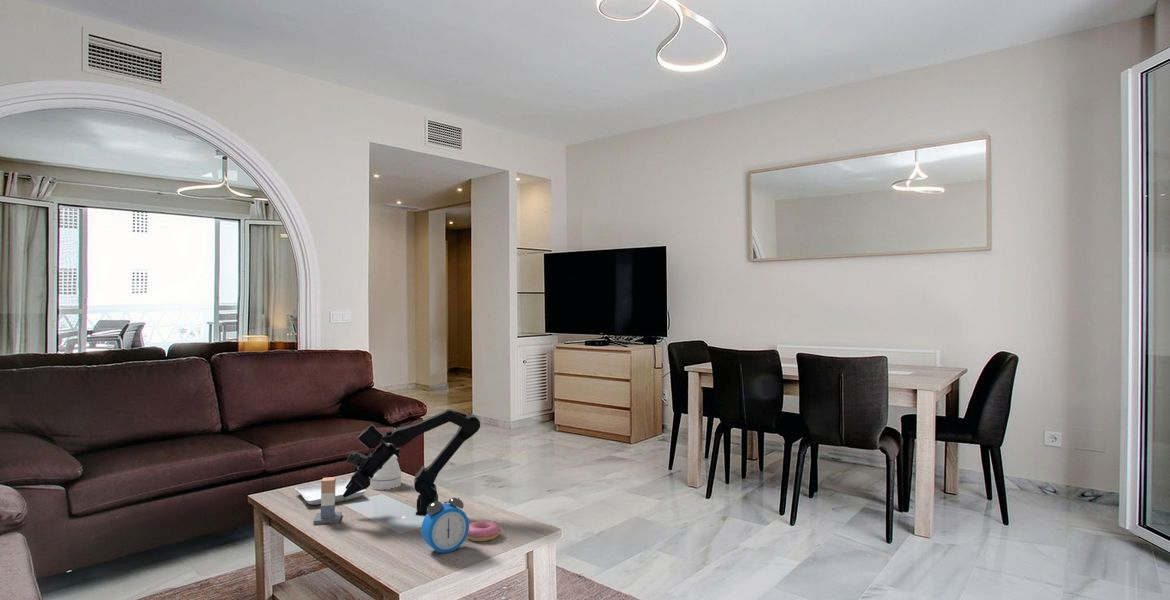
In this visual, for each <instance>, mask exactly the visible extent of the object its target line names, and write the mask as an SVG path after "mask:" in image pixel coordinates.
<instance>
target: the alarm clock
mask: <svg viewBox="0 0 1170 600" xmlns="http://www.w3.org/2000/svg"><path fill="white" fill-rule="evenodd" d="M464 505H465V504H464V501H462V500H461V499H460V497H451V498H450V499H449V500H448V501H443V503H442V502H441V501H439V500H438V501H435V502H432V503H431V504H430V505H429V506H428V508H427V514H426V515H424V518H423V520H422V523H421V528H420V529H421V530H420V531H421V537H422V539H423V541H424V542H425V544H426V545H427V546H429V547H430V548H432V549H433V550H434V551H436V552H437V553H436V556H438V555H439V554H440V553H443V554H445V553H452V552H454V551H455V550H456V549H457V550H458V549H459V550H460V547H461V545H463V543H464V542H465V540H466V539H467V534H468V531H469V524H470V522H469V518H468V516H467V514H466V513H465V512H464V511H463V509H464Z"/></svg>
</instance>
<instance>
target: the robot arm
mask: <svg viewBox="0 0 1170 600" xmlns="http://www.w3.org/2000/svg"><path fill="white" fill-rule="evenodd" d="M448 423H452V424H454V425H457V426H458V428H457V431H456V433H455V434H454V436H453V437H451V439H450V440H449V441H448V442H447V444H446V445H445V446H444V447H443V449H442V450H441V451H440V453H438V455H437V456H436V457H435V458H434V460H433V461H432V462H431V463H430V464H429V465H428V466H427V467H425V466H424V465H422V466H421V467H420V469H419V470H418V471H417V472H416V473H415V477H414V480H413V483H414V484H413V486H414V490H415V491H416V492H417V493H418V495H417V499H416V512H415V515H418V516H419V515H422V516H426V514H427V508H428V506H429V505H430V504H431V503H432V502H435V501H439V494H438V488H437V485H436V484H435V482H436V479H437V477H438V475H439V473H440V472H441V471H442V469H443V468H444V467H445V466H446V464H447V463H448V462H449V460H451V459H452V457H453V456H454V455H455V453H456V452H457V451H458V450H459V448H460V447H461V446H462V445H463V444H464V442H466V441H467V440H468V439H470V438H472V437H473V436H474V435H475V434H476V433H477V432H478V431H479V430H480V428H481V422H480V420H479V418H478V417H477V415H475V414H472V413H471V414H466V413H463V412H460V411H456V410H453V409H452V408H447V409H446V410H444V411H441V412H440V413H437V414H435V415H433V416H431V417H428V418H426V419H423V420H421V421H418V422H416V423H414V424H409V425H404V426H400V427H396V428H394V429H393V430H392V431H387V432H383V433H382V432H381V431H380V430H379V429H378V428H376V426H375V425H374V424H373V423H372V424H370V425H369V426H368V427H367V428H365V429H364V430H363V431H362V432H361V433H360V434H359V435H358V436H357V438H356V439H357V441H359V443H360V444H362V445H364V447H366V448H367V449H368V450H374V449H375V450H374V451H372V453H368V454H367V455H365V454H363V453H360V452H358V451H355V450H350V452H349V454H348V457H347V459H346V460H345V461H346V462H347V463H349V464H353V465H355V467H354V473H353V474H352V475H351V478H350V479H351V480H350V481H349V483H348V484H347V486H346V489H347V490H346V491H345V493H344V494H343V497H347V496H350V495H352V494H354V493H356V492H359V491H361V490H367V489H369V486H370V483H371V479H372V478H373V477H374V474H375V473H376V472H377V471H378V470H379V469H381V468H382V467H383V465H384V464H385V463H386V462H387V461H388V460H389V459H390V458H391V457H392V456H393V455H394V454H395V455H396V456H397V457H398V458H400V457H401V456H400V455H401V453H400V452H401V447H403V446H405V445H406V444H408V443H410V442H411V441H413V440H414V439H415V438H417V437H419V436H420V435H422V434H424V433H425V434H426V433H427V432H428V431H431V430H433V429H436V428H438V427H440V426H442V425H445V424H448ZM388 443H390V444H388Z"/></svg>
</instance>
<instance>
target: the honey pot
mask: <svg viewBox="0 0 1170 600" xmlns="http://www.w3.org/2000/svg"><path fill="white" fill-rule="evenodd" d="M387 444H390V443H387ZM398 458H399V457H397V456H396V455H395V454H394V455H393V456H392V457H391V458H390V459H389V460H388V461H387V462H386V463H385V464H384V465H383V467H382V468H381V469H379V470H378V471H377V472H376V473H375V474H374V477H373V478H372V479H371V483H370V486H369V487H368V489H370V488H371V490H375V489H377V490H376V491H378V490H379V491H382V490H384V489H386V490H392V489H391V488H393V489H396V488H398V486H399V487H400V486H401V485H402V469H400V465H399V461H398ZM395 487H396V488H395Z"/></svg>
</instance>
